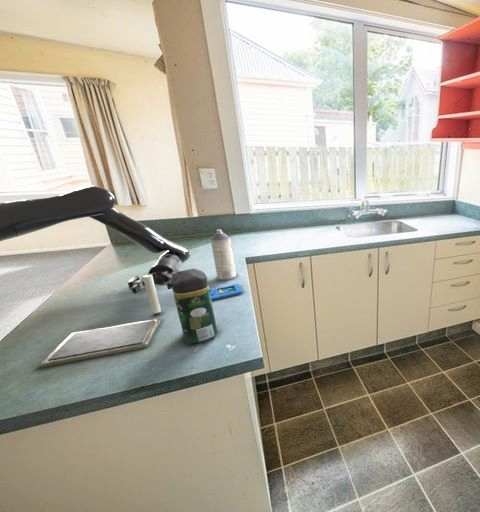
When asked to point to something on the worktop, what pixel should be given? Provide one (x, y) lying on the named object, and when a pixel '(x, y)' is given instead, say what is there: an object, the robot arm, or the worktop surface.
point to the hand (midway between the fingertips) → (151, 288)
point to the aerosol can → (223, 256)
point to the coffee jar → (194, 305)
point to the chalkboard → (103, 342)
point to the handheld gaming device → (225, 291)
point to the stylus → (152, 294)
